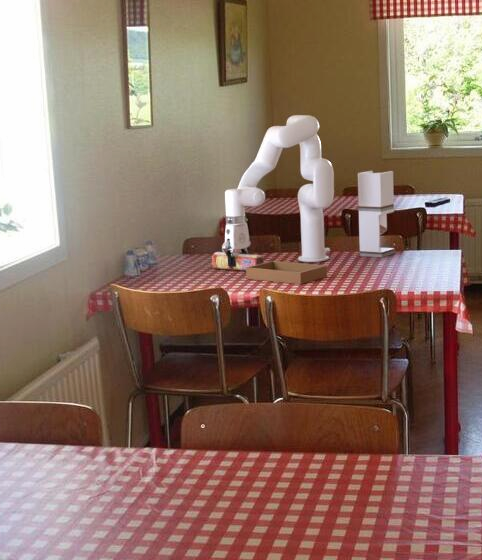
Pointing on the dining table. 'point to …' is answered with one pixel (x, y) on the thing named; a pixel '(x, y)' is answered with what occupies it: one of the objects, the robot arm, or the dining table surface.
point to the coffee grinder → (374, 211)
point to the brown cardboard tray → (286, 272)
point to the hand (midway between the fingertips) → (237, 264)
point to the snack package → (240, 261)
